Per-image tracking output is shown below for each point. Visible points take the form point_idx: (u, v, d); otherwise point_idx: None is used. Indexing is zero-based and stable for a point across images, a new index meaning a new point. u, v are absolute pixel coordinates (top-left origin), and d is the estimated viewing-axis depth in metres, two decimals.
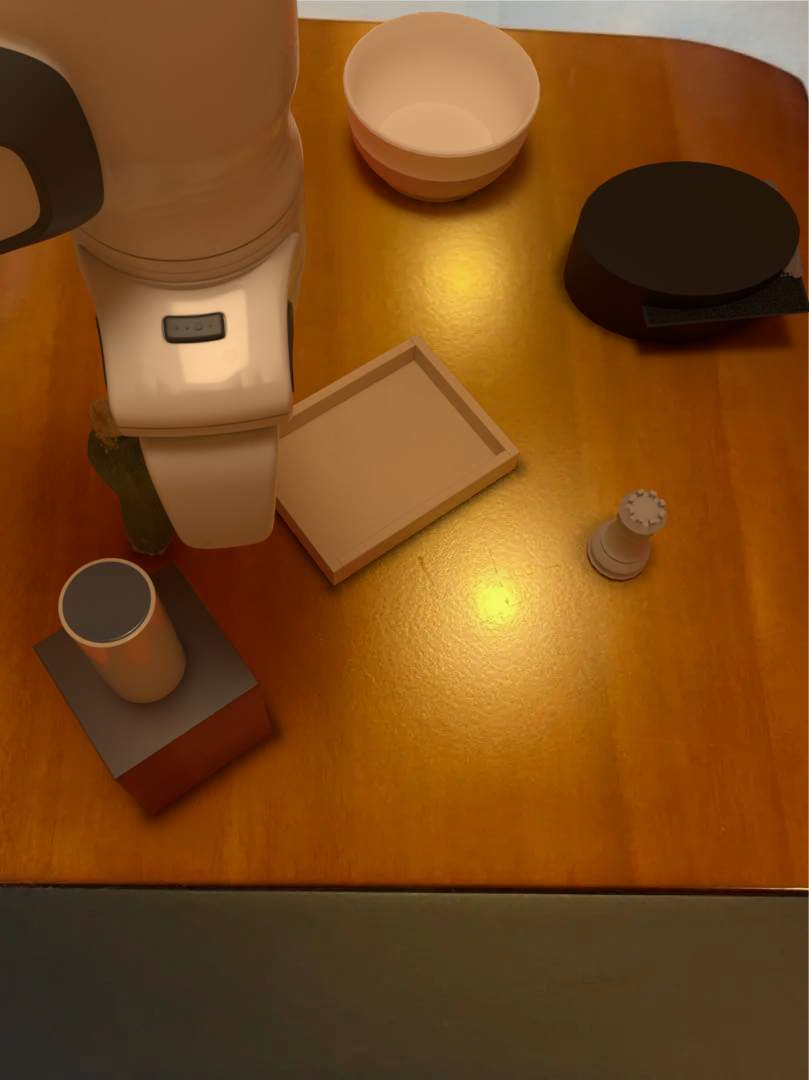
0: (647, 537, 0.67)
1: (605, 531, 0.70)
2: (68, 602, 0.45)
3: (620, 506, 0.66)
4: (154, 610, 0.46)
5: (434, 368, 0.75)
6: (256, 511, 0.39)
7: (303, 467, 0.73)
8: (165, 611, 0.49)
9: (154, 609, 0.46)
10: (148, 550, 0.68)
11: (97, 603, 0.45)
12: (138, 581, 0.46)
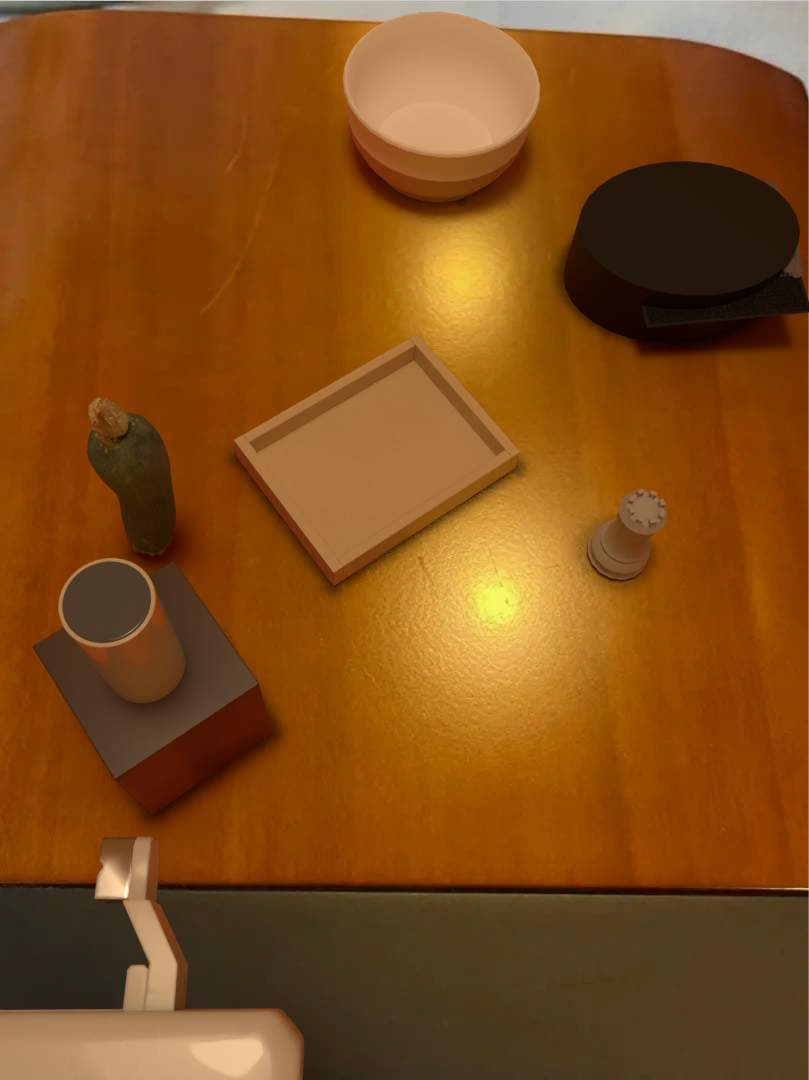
0: (647, 537, 0.67)
1: (605, 531, 0.70)
2: (68, 602, 0.45)
3: (620, 506, 0.66)
4: (154, 610, 0.46)
5: (434, 368, 0.75)
6: None
7: (303, 467, 0.73)
8: (165, 611, 0.49)
9: (154, 609, 0.46)
10: (148, 550, 0.68)
11: (97, 603, 0.45)
12: (138, 581, 0.46)
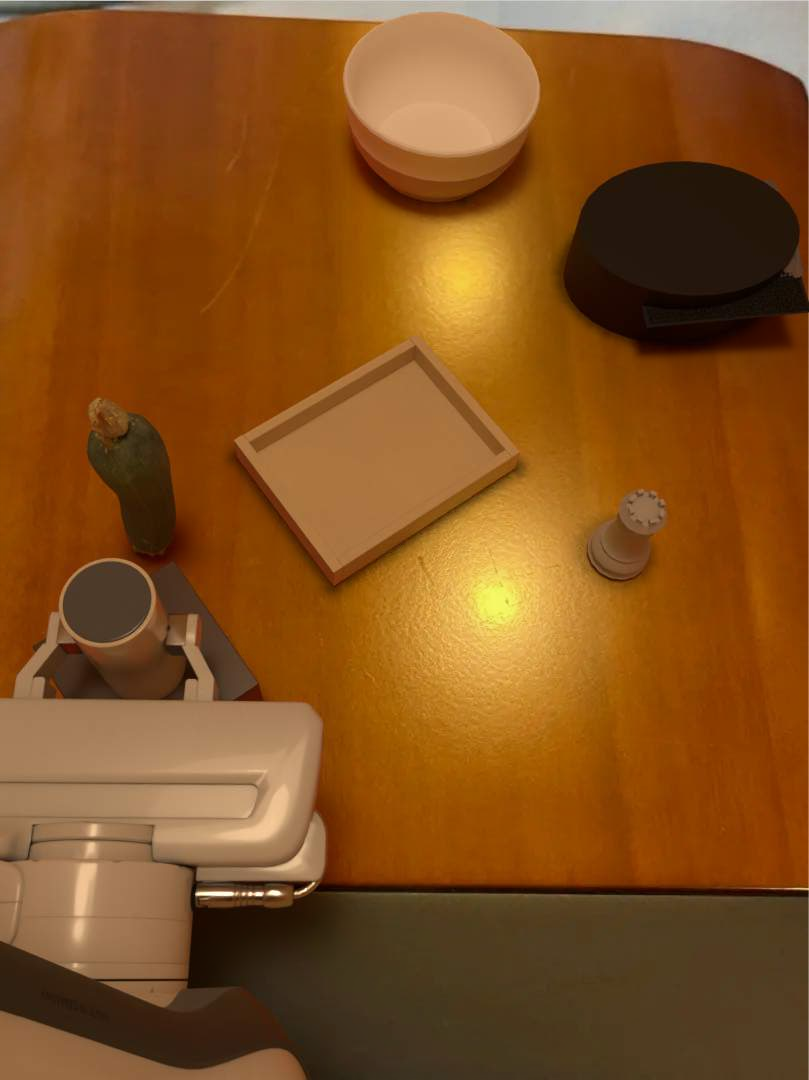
0: (647, 537, 0.67)
1: (605, 531, 0.70)
2: (69, 602, 0.45)
3: (620, 506, 0.66)
4: (154, 610, 0.46)
5: (434, 368, 0.75)
6: None
7: (303, 467, 0.73)
8: (165, 611, 0.49)
9: (155, 609, 0.46)
10: (148, 550, 0.68)
11: (98, 603, 0.45)
12: (139, 581, 0.46)
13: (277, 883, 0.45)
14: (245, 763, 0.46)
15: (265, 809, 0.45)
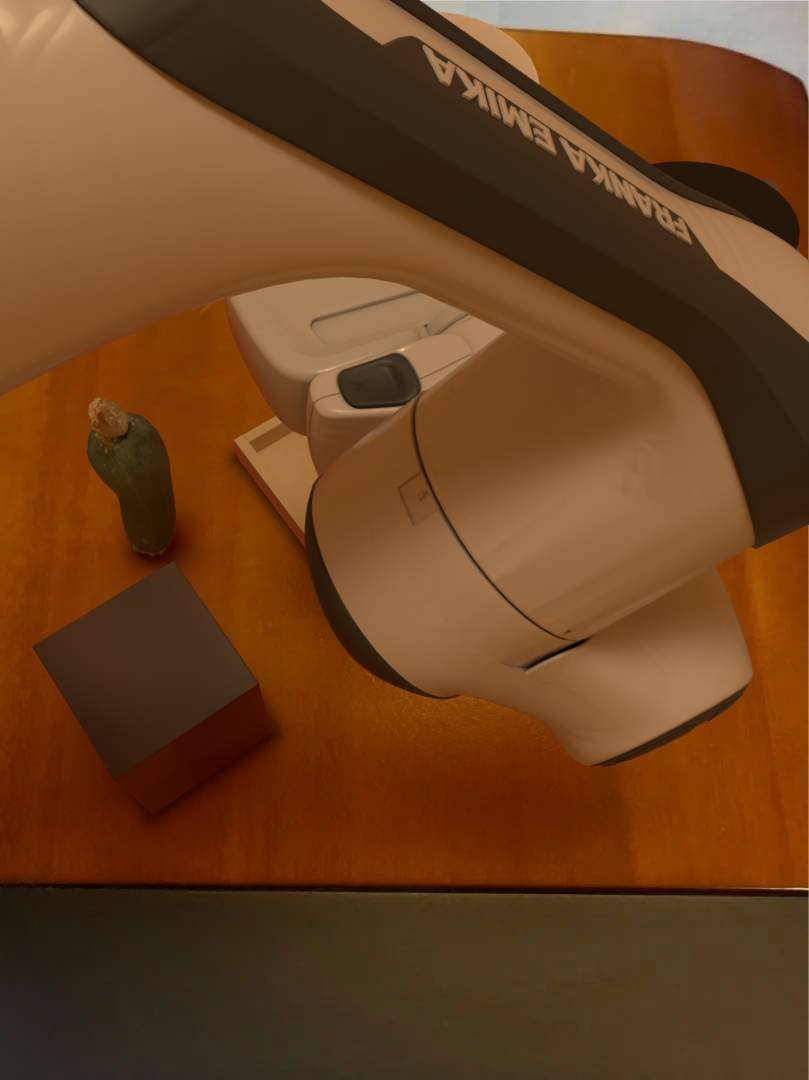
0: None
1: None
2: None
3: None
4: None
5: None
6: (251, 371, 0.44)
7: (303, 467, 0.73)
8: None
9: None
10: (148, 550, 0.68)
11: None
12: None
13: None
14: None
15: None
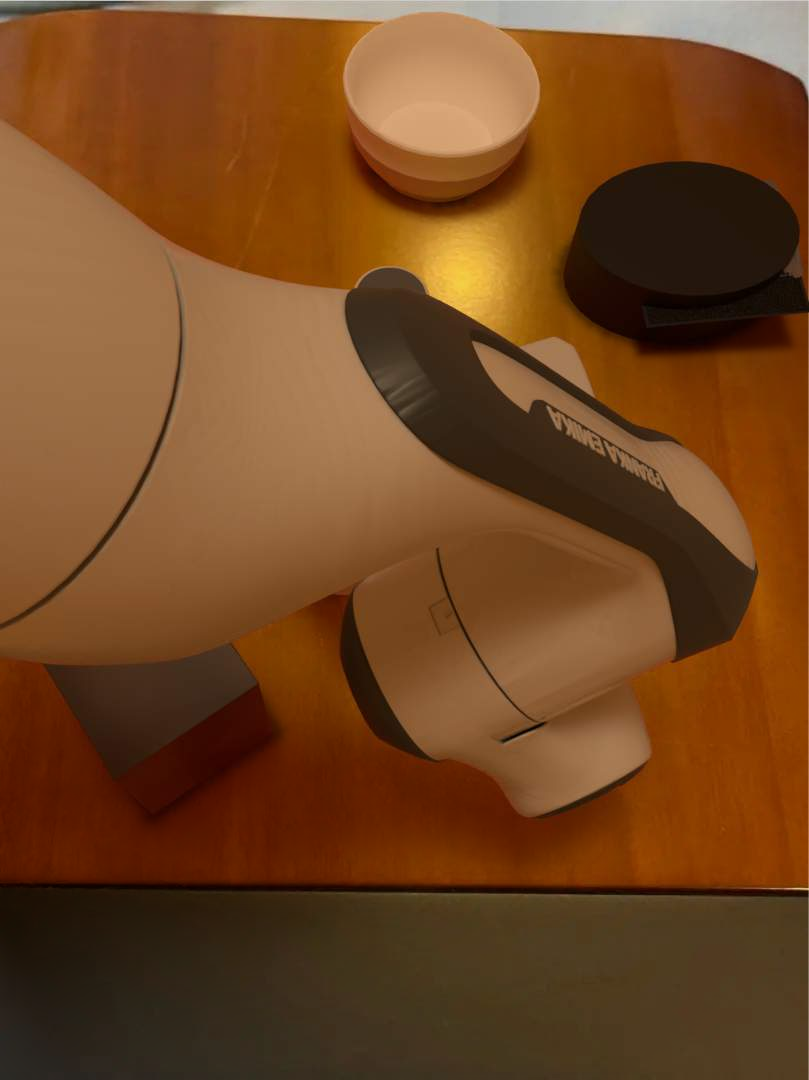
0: None
1: None
2: None
3: None
4: (428, 292, 0.56)
5: None
6: None
7: None
8: None
9: (428, 291, 0.57)
10: None
11: None
12: (407, 275, 0.57)
13: None
14: None
15: None
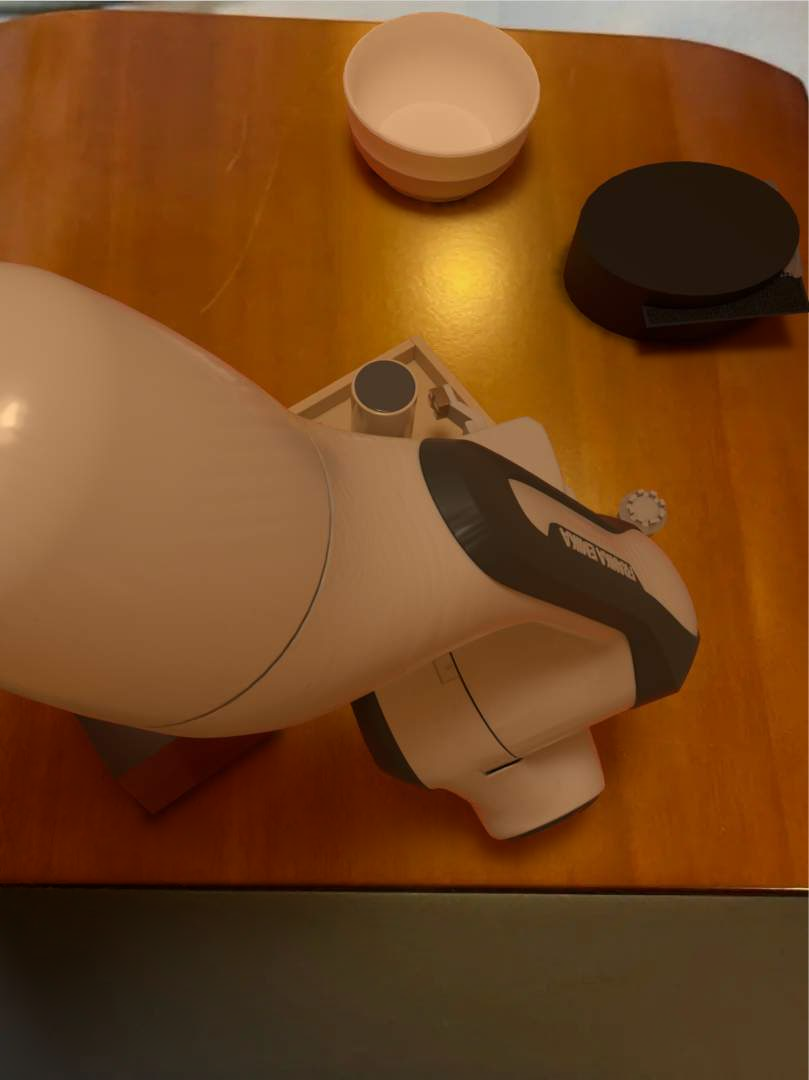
0: None
1: None
2: (361, 394, 0.64)
3: (620, 506, 0.66)
4: (417, 382, 0.65)
5: (434, 368, 0.75)
6: None
7: None
8: None
9: (417, 381, 0.65)
10: None
11: (380, 389, 0.64)
12: (399, 367, 0.65)
13: None
14: None
15: None
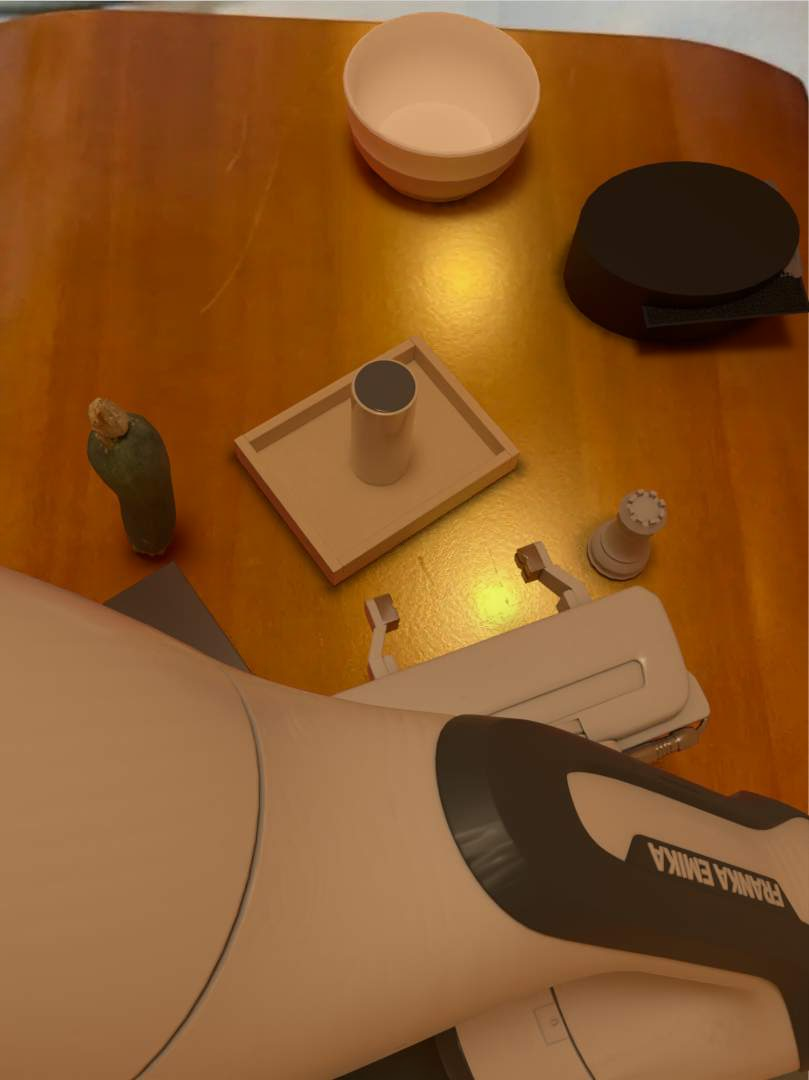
0: (647, 537, 0.67)
1: (605, 531, 0.70)
2: (361, 394, 0.64)
3: (620, 506, 0.66)
4: (417, 382, 0.65)
5: (434, 368, 0.75)
6: None
7: (303, 467, 0.73)
8: None
9: (417, 381, 0.65)
10: (148, 550, 0.68)
11: (380, 389, 0.64)
12: (399, 367, 0.65)
13: (682, 729, 0.54)
14: (620, 646, 0.54)
15: (654, 674, 0.53)
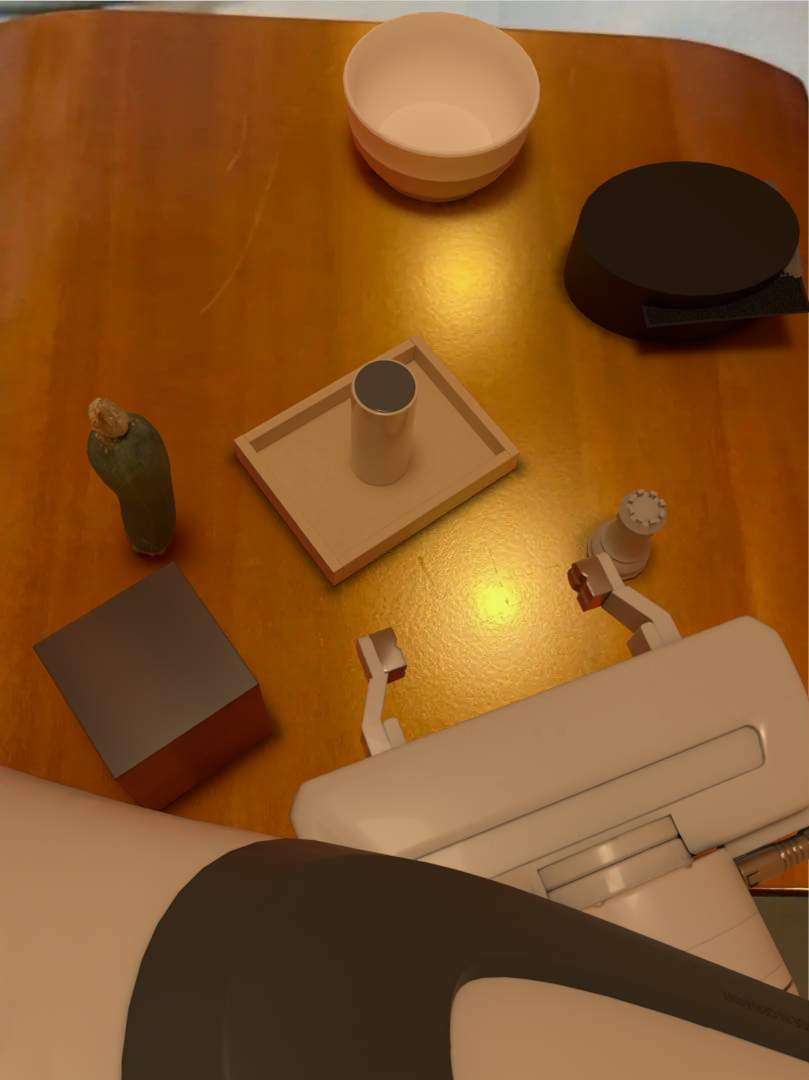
0: (647, 537, 0.67)
1: (605, 531, 0.70)
2: (361, 394, 0.64)
3: (620, 506, 0.66)
4: (417, 382, 0.65)
5: (434, 368, 0.75)
6: None
7: (303, 467, 0.73)
8: None
9: (417, 381, 0.65)
10: (148, 550, 0.68)
11: (380, 389, 0.64)
12: (399, 367, 0.65)
13: None
14: (727, 705, 0.37)
15: (778, 747, 0.37)
